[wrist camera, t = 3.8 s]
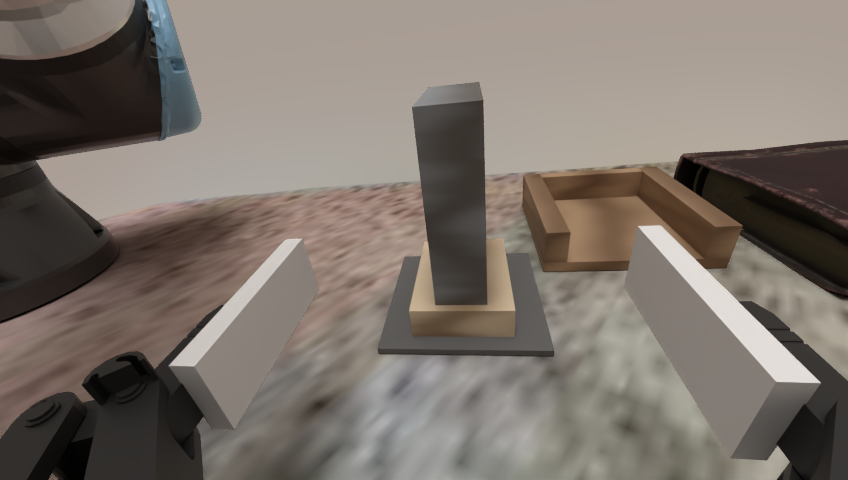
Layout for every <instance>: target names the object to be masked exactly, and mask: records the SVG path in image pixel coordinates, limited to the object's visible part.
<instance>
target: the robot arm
mask: <svg viewBox="0 0 848 480" xmlns="http://www.w3.org/2000/svg"><path fill="white" fill-rule="evenodd" d="M200 122H201V112H200V109H199V105H198V101H197V98H196V95H195V91H194V88H193V85H192V81H191V78H190V75H189V71H188V68H187V65H186V62H185V58H184V55H183V52H182V49H181V46H180V42H179V39H178V36H177V32H176V29H175V26H174V23H173V19H172V16H171V13H170V10H169V7H168V4H167V1H166V0H0V321H2V320H5V319H7V318H10V317H13V316H15V315H18V314H20V313H23V312H25V311H28V310H30V309H33V308H35V307H37V306H40V305H42V304H44V303H46V302H48V301H51V300H53V299H55V298H57V297H59V296H61V295H63V294H65V293H67V292H69V291H71V290H72V289H74V288H76V287H78V286H80V285H81V284H83V283H85V282H86V281H88V280H90V279H91V278H93V277H94V276H96V275H97V274H99V273H100V272H101V271H103V270H104V269H105V268H106V267H108V266H109V265H110V264H111V263H112V262H113V261H114V260H115V259H116V257H117V256H118V254H119V251H120V248H119V246H118V244H117V243H116V241H115V240H114V238H113V237H112V235H111V233H110V232H109V231H108V230H107V229H106V228H105V227H104V226H103V225H101V224H100V223H99V222H98V221H96V220H95V219H94V218H93V217H91V216H90V215H89V214H88V213H86V212H85V211H84V210H82V209H81V208H80V207H79V206H78V205H76V204H75V203H74V202H72V201H71V200H70V199H69V198H67V197H66V196H65V195H64V194H62V193H61V192H60V191H58V190H57V189H56V188H55V187H54V186H53V185H52V184H51V182H50V181H49V179H48V178H47V177H46V175H45V174H44V172H43V171H42V169H41V168H40V166H39V165H38V163H37V162H36V160H39V159H46V158H51V157H57V156H63V155H69V154H75V153H82V152H87V151H94V150H100V149H107V148H113V147H119V146H125V145H131V144H138V143H143V142H150V141H156V140H158V141H161V140H164V139H165V138H166V137H170V136H175V135H179V134H183V133H187V132H191V131H193V130H195V129H196V128H197V127H198V126H199V124H200ZM624 287H625V289H626V290H627V292H628V294H629V295H630V297H631V298H632V300H633V302H634V303H635V305H636V306H637V308H638V310H639V311H640V313H641V315H642V316H643V318H644V319H645V321H646V323H647V324H648V326H649V328H650V329H651V331H652V332H653V334H654V336H655V337H656V339H657V340H658V342H659V344H660V345H661V347H662V349H663V350H664V352H665V353H666V355H667V357H668V358H669V360H670V361H671V363H672V365H673V366H674V368H675V370H676V371H677V373H678V374H679V376H680V378H681V379H682V381H683V382H684V384H685V386H686V387H687V389H688V391H689V392H690V394H691V395H692V397H693V399H694V400H695V402H696V403H697V405H698V407H699V408H700V410H701V412H702V413H703V415H704V416H705V418H706V420H707V421H708V423H709V425H710V426H711V428H712V429H713V431H714V433H715V434H716V436H717V437H718V439H719V441H720V442H721V444H722V446H723V447H724V449H725V450H726V452H727V454H728V455H729V457H730V458H736V459H753V460H767V459H768V458H769V457H770V455H771V454H772V452H773V451H774V450H775V448H776V447H777V445H778V446H779V448H780V449H781V450H782V452H783V453H784V454H785V456H786V457H787V458H788V460H789V461H790V463H789V464H788V465H787V467H786V468H785V469H784V471H783V472H782V473H781V475H780V476H779V477H778V479H777V480H848V381H847V380H846V379H845V378H844V377H843V376H842V375H840V374H839V373H838V372H837V371H836V370H835V369H834V368H833V367H832V366H831V365H829V364H828V363H827V362H826V361H825V360H824V359H823V358H822V357H821V356H820V355H818V354H817V353H816V352H815V351H814V350H813V349H812V348H811V347H810V346H809V345H807V344H804V343H803V340H802V339H801V338H800V337H799V336H797V335H796V334H795V333H794V332H791V331H790V328H789V327H788V326H786V325H785V324H784V323H783V322H782V321H781V320H780V319H779V318H778V317H777V316H775V315H774V314H773V313H771V312H769V311H768V310H766V309H764V308H762V307H761V306H759V305H757V304H755V303H754V302H752V301H737V300H736V299H735V298H734V297H733V296H732V295H731V294H730V293H729V292H728V291H727V290H726V289H725V288H724V287H723V286H722V285H721V284H720V283H719V282H718V281H717V280H716V279H715V278H714V277H713V276H712V275H711V274H710V273H709V272H708V271H707V270H706V269H705V268H704V267H703V266H702V265H700V264H699V263H698V262H697V261H696V260H695V259H694V258H693V257H692V256H691V255H690V254H689V253H688V252H687V251H686V250H685V249H684V248H683V247H682V246H681V245H680V244H679V243H678V242H677V241H676V240H675V239H674V238H673V237H672V236H671V235H670V234H669V233H668V232H667V231H666V230H665V229H664V228H663V227H662V226H661V225H656V226H638V227H637V231H636V236H635V240H634V245H633V249H632V254H631V258H630V262H629V267H628V271H627V276H626V280H625V285H624ZM318 291H319V288H318V285H317V282H316V279H315V276H314V273H313V270H312V267H311V263H310V260H309V257H308V254H307V251H306V248H305V245H304V242H303V239H285V240H284V242H283V243H282V244H281V245H280V246H279V247H278V248H277V249H276V250H275V251H274V252H273V253H272V255H271V256H270V257H269V258H268V259H267V260H266V261H265V262H264V263H263V264H262V265H261V266H260V267H259V269H258V270H257V271H256V272H255V273H254V274H253V275H252V276H251V277H250V278H249V279H248V280H247V282H246V283H245V284H244V285H243V286H242V287H241V288H240V289H239V290H238V291H237V292H236V293H235V295H234V296H233V297H232V298H231V299H230V300H229V301H228V302H227V303H226V304H225V305H221V306H219V307H218V308H216V309H215V310H213V311H212V312H211V313H209V314H208V315H206V316H205V317H204V319H203V320H202V321H201V322H200V323H199V324H198V325H197V326H196V329H193V330H192V331H191V332H190V333H189V334H188V335H187V338H184V339H183V340H182V341H181V343H180V344H179V345H178V346H177V347H176V348H175V349H174V350H173V351H172V352H171V353H170V354H169V355H168V356H167V357H166V358H165V359H164V360H163V361H162V362H161V363H160V364H159V366H158V367H157V368H156V369H155V370H154V368H153V367H152V366H151V364H150V363H149V361H148V360H147V359H146V357H145V356H144V355H143V353H140V352H137V351H136V352H127V353H124V354H121V355H117V356H115V357H113V358H111V359H109V360H107V361H105V362H104V363H102V364H101V365H100V366H98V367H97V368H95V369H94V370H93V371H92V372H91V373H90V374H89V375H88V376H87V377H86V378H85V380H84V382H83V383H82V386H83V387H84V388H85V389H86V390H87V392H88V393H89V394H90V395H91V396H92V397H93V398H94V399H95V400H92V401H88V402H84V403H83V402H82V401H81V400H80V399H79V398H78V397H77V396H76V395H75V394H74V393H71V392H63V393H58V394H55V395H53V396H50V397H48V398H45V399H43V400H41V401H39V402H37V403H36V404H34V405H32V406H31V407H30V408H29V409H28V410H26V411H25V412H24V413H22V414H21V415H20V416H19V417H18V418H17V419H16V420H15V421H14V422H13V423H12V425H11V426H10V427H9V428H8V430H7V431H6V432H5V434H4V435H3V436H2V438H1V439H0V480H48V479H49V477H50V475H51V474H54V475H55V476H56V477H57V478H59V479H58V480H203V467H202V454H201V440H200V433H199V431H198V429H197V428H196V426H197V425H198V423H199V422H200V420H201V419H202V418H203V416H204V418H205V419H206V421H207V422H208V424H209V425H210V426H211V428H215V429H233V430H235V428H236V427H237V425H238V423H239V422H240V420H241V418H242V417H243V415H244V413H245V412H246V410H247V408H248V407H249V405H250V403H251V402H252V400H253V399H254V397H255V395H256V394H257V392H258V390H259V389H260V387H261V385H262V384H263V382H264V380H265V379H266V377H267V375H268V374H269V372H270V370H271V369H272V367H273V365H274V364H275V362H276V360H277V359H278V357H279V356H280V354H281V352H282V351H283V349H284V347H285V346H286V344H287V342H288V341H289V339H290V337H291V336H292V334H293V332H294V331H295V329H296V327H297V326H298V324H299V322H300V321H301V319H302V318H303V316H304V314H305V313H306V311H307V309H308V308H309V306H310V304H311V303H312V301H313V299H314V298H315V296H316V294H317V293H318Z"/></svg>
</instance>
